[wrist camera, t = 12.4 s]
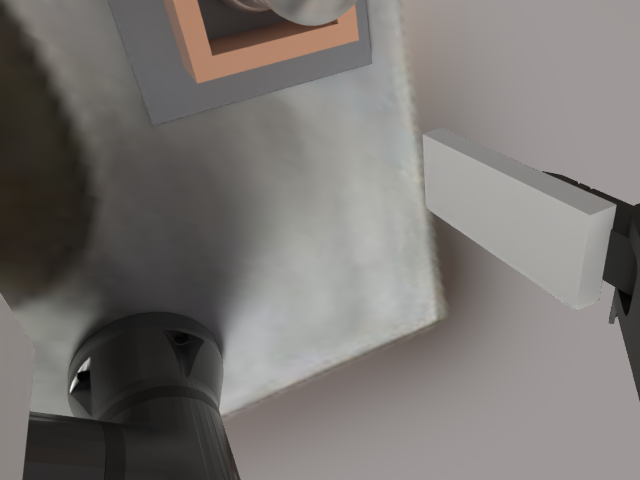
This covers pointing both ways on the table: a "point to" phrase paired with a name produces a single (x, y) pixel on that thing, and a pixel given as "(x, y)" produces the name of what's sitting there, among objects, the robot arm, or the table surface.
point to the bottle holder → (229, 52)
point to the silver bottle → (297, 9)
